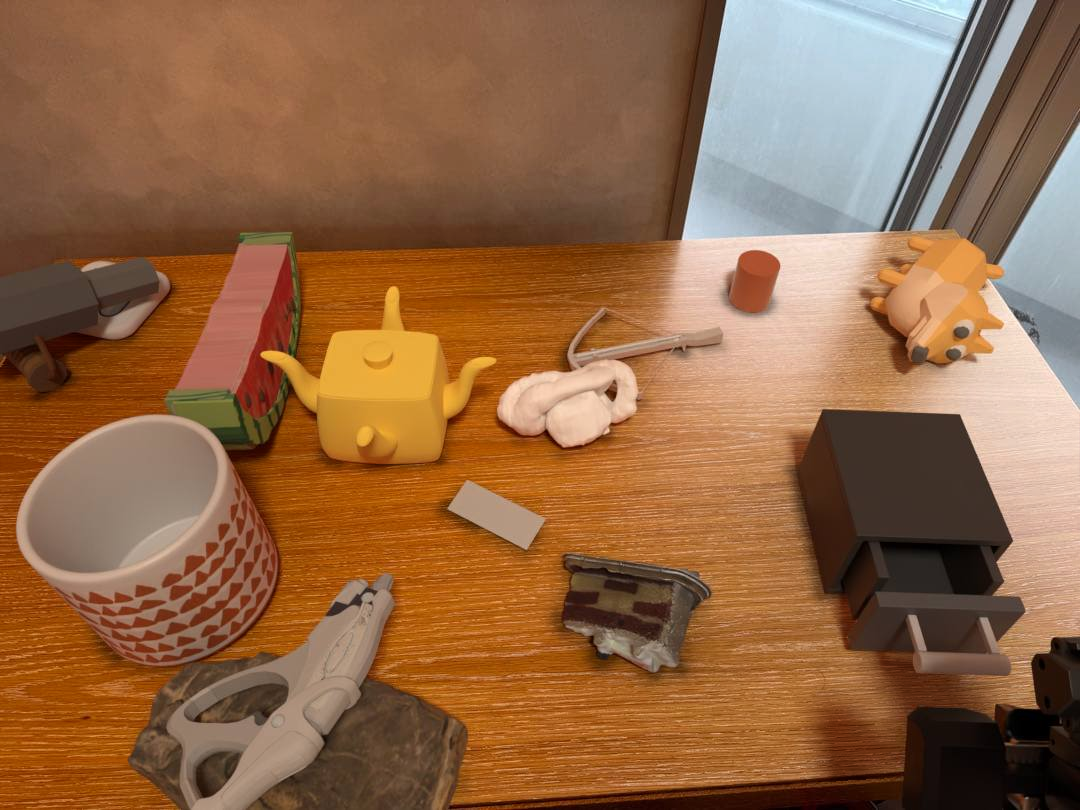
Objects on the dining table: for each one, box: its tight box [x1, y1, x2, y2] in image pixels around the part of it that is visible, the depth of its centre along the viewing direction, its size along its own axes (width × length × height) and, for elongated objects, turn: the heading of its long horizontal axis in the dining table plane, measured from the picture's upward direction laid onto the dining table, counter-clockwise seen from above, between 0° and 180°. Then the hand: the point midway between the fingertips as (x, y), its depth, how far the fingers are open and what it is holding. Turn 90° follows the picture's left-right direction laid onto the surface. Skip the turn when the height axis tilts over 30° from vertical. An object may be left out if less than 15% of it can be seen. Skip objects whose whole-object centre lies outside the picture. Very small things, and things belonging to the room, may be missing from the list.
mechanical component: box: [0, 256, 160, 393], centre depth 80 cm, size 10×18×10 cm, turn 139°
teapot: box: [260, 285, 497, 465], centre depth 73 cm, size 15×14×10 cm
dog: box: [869, 236, 1005, 365], centre depth 86 cm, size 8×20×13 cm
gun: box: [166, 572, 396, 810], centre depth 54 cm, size 3×19×10 cm
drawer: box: [842, 541, 1027, 677], centre depth 62 cm, size 16×10×7 cm, turn 179°
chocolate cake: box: [561, 551, 714, 673], centre depth 63 cm, size 10×7×12 cm
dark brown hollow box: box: [796, 408, 1014, 595], centre depth 68 cm, size 12×11×8 cm
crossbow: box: [566, 306, 724, 401], centre depth 84 cm, size 16×13×2 cm
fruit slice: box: [163, 231, 302, 451], centre depth 76 cm, size 26×6×10 cm, turn 3°
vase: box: [15, 413, 279, 668], centre depth 60 cm, size 14×14×13 cm
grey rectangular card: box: [446, 479, 547, 551], centre depth 70 cm, size 3×8×1 cm, turn 59°
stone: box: [127, 651, 469, 810], centre depth 55 cm, size 13×21×5 cm, turn 61°
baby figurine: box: [496, 359, 639, 448], centre depth 76 cm, size 9×12×8 cm
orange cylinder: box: [728, 249, 781, 313], centre depth 89 cm, size 4×4×5 cm
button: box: [74, 260, 171, 341], centre depth 87 cm, size 10×2×10 cm
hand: (1000, 711), depth 53 cm, fingers closed
